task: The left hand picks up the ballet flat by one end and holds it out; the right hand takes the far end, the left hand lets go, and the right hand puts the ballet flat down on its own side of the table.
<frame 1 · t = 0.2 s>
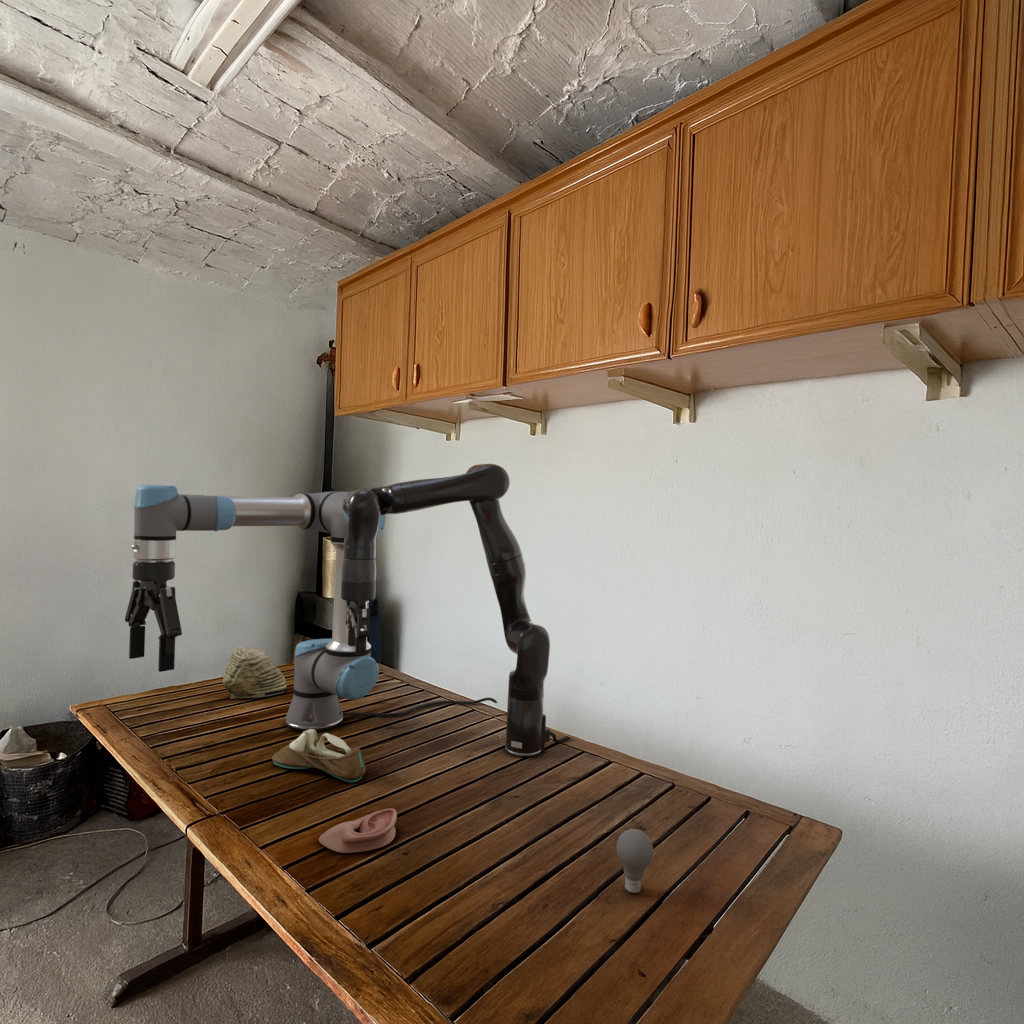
left hand: (151, 663, 130), 28 cm above the table, tool pointing down, fingers open, 13 cm apart
right hand: (356, 650, 142), 29 cm above the table, tool pointing down, fingers open, 8 cm apart
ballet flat: (318, 770, 146), on the table
fossil: (254, 694, 198), on the table
anatomical model: (358, 838, 118), on the table
light bulb: (632, 891, 106), on the table
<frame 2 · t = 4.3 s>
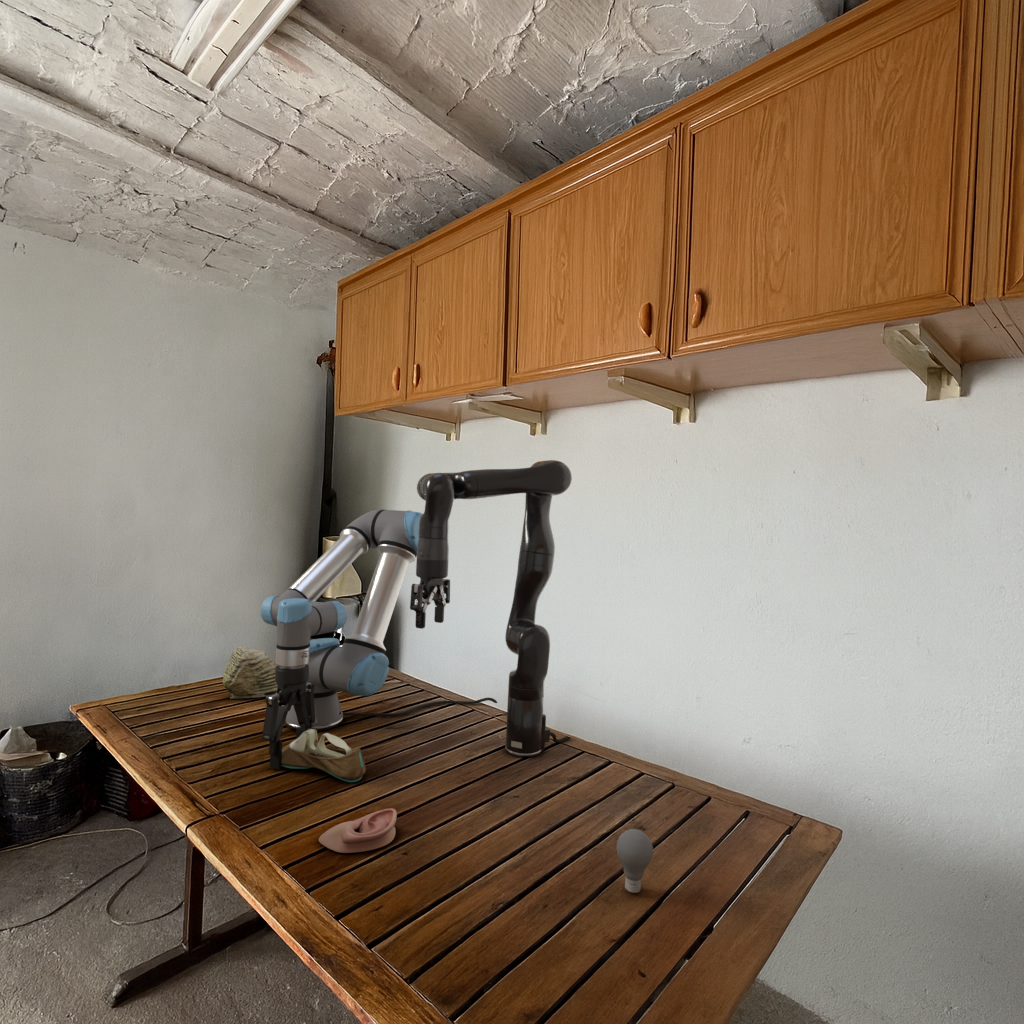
left hand: (288, 761, 150), 0 cm above the table, tool pointing down, fingers closed on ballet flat, 7 cm apart
right hand: (429, 625, 150), 34 cm above the table, tool pointing down, fingers open, 8 cm apart
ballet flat: (318, 770, 146), on the table, touching left hand
everything else where it was.
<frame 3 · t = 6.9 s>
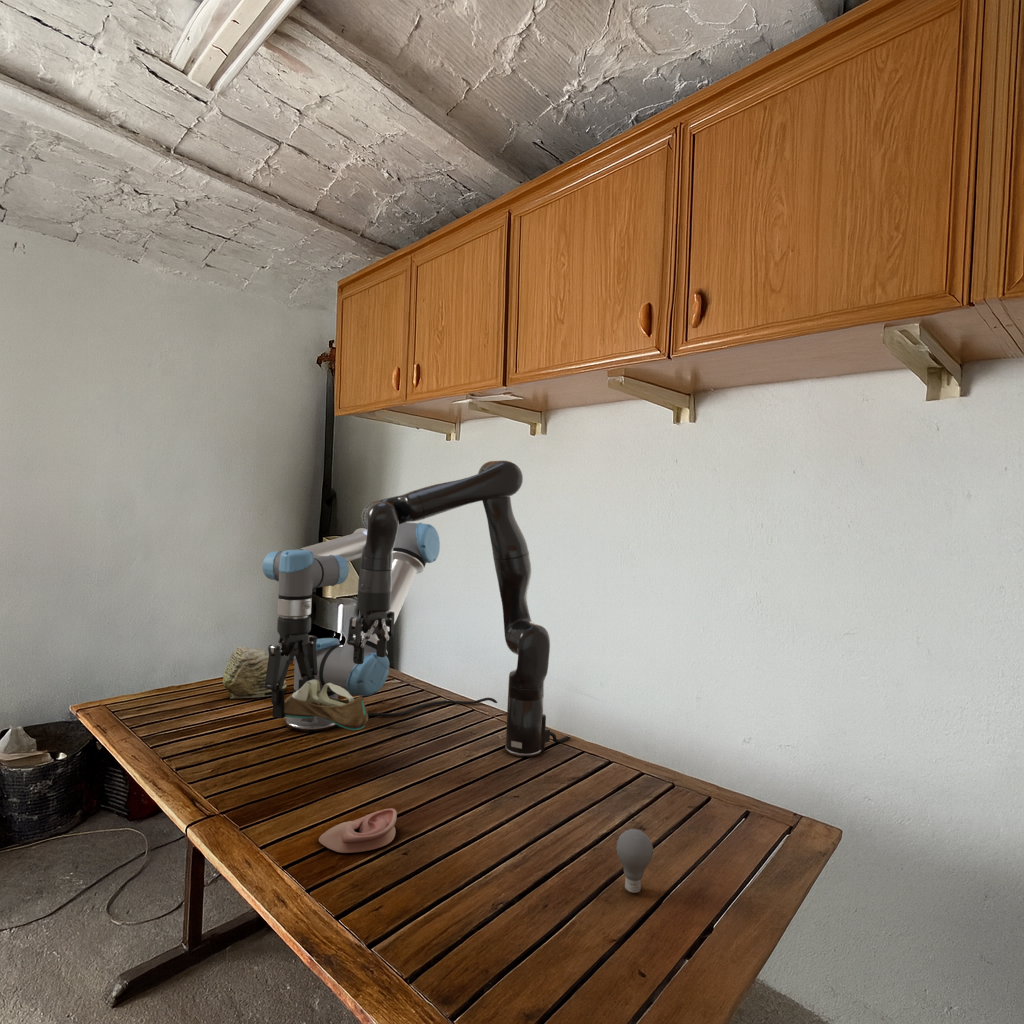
left hand: (291, 711, 150), 12 cm above the table, tool pointing down, fingers closed on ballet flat, 7 cm apart
right hand: (369, 660, 144), 27 cm above the table, tool pointing down, fingers open, 8 cm apart
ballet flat: (321, 720, 146), point 12 cm above the table, touching left hand
everything else where it was.
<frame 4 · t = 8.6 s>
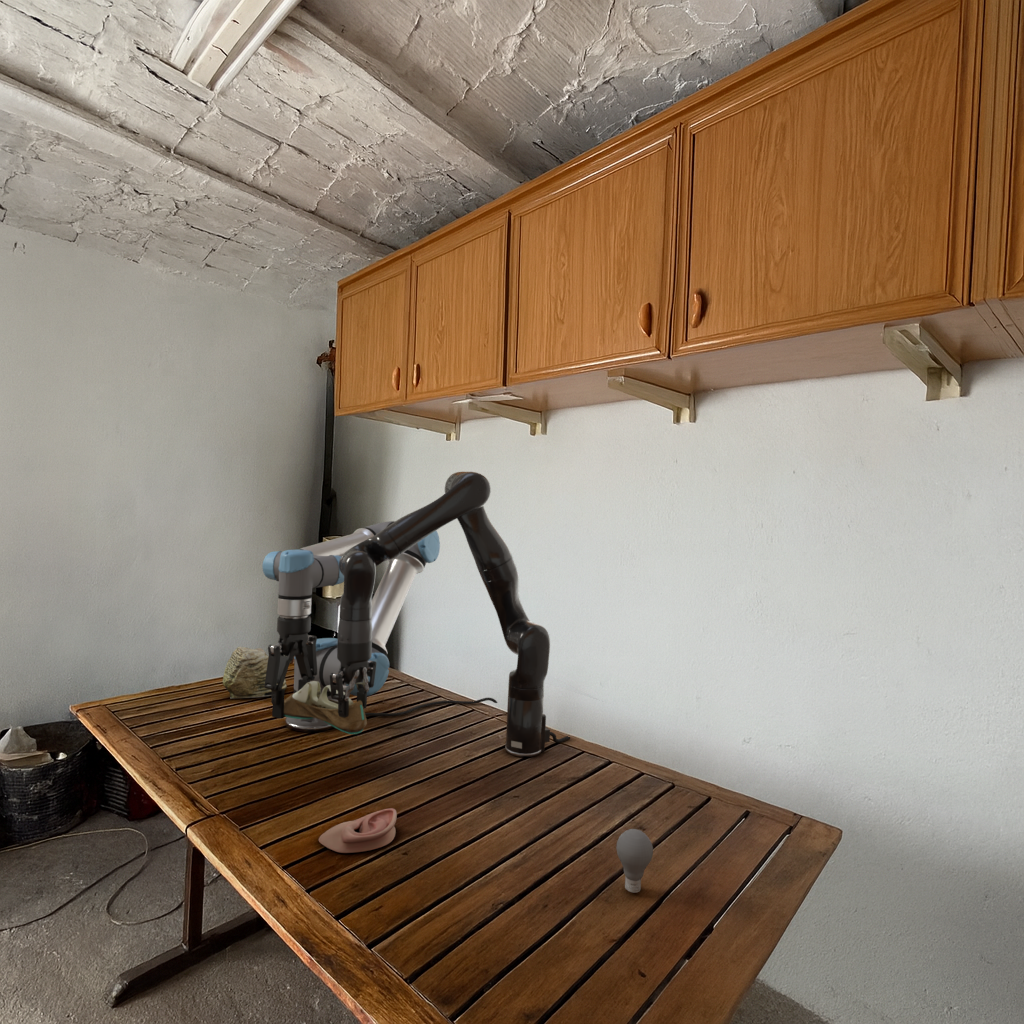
left hand: (290, 711, 150), 12 cm above the table, tool pointing down, fingers closed on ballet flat, 7 cm apart
right hand: (352, 712, 143), 15 cm above the table, tool pointing down, fingers closed on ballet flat, 5 cm apart
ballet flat: (320, 721, 146), point 11 cm above the table, touching left hand, right hand
everything else where it was.
when the left hand's fingers open (12 cm above the table, at t = 9.7 s): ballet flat stays where it is, held by the right hand.
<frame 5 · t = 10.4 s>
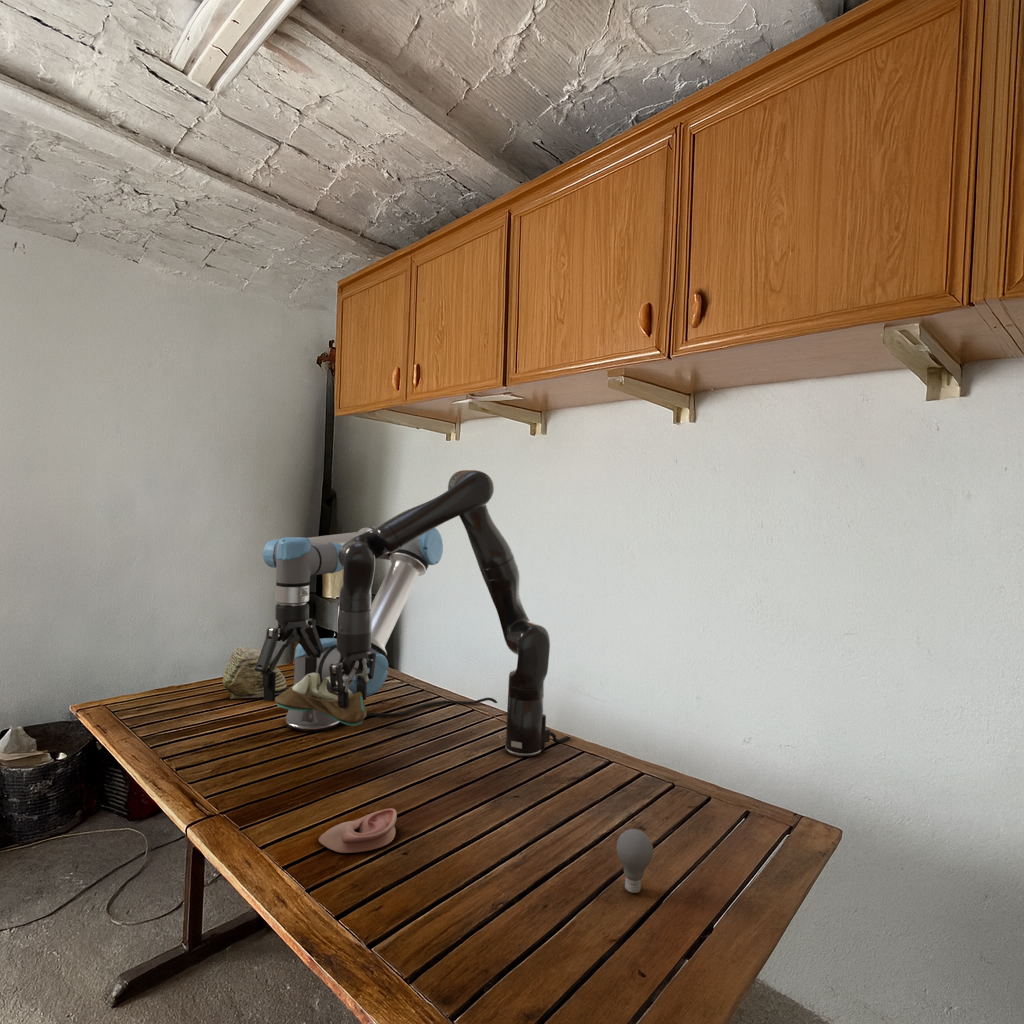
left hand: (290, 692, 150), 17 cm above the table, tool pointing down, fingers open, 13 cm apart
right hand: (352, 703, 143), 17 cm above the table, tool pointing down, fingers closed on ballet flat, 5 cm apart
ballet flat: (319, 713, 146), point 13 cm above the table, touching right hand
everything else where it was.
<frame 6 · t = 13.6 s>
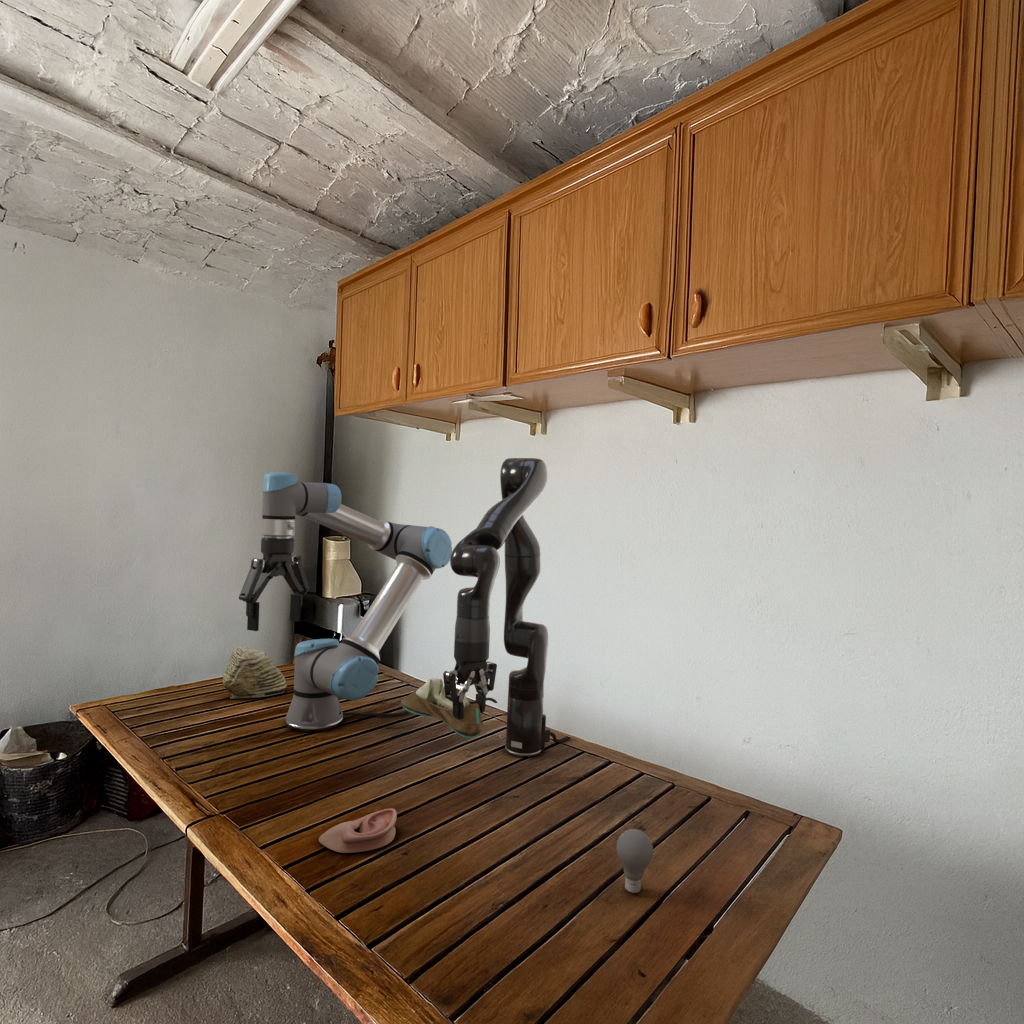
left hand: (274, 625, 152), 32 cm above the table, tool pointing down, fingers open, 13 cm apart
right hand: (469, 714, 136), 18 cm above the table, tool pointing down, fingers closed on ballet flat, 5 cm apart
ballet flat: (440, 720, 142), point 14 cm above the table, touching right hand
everything else where it was.
when the right hand's fingers open (5 cm above the table, at t = 18.8 s): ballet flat drops 1 cm, on the table.
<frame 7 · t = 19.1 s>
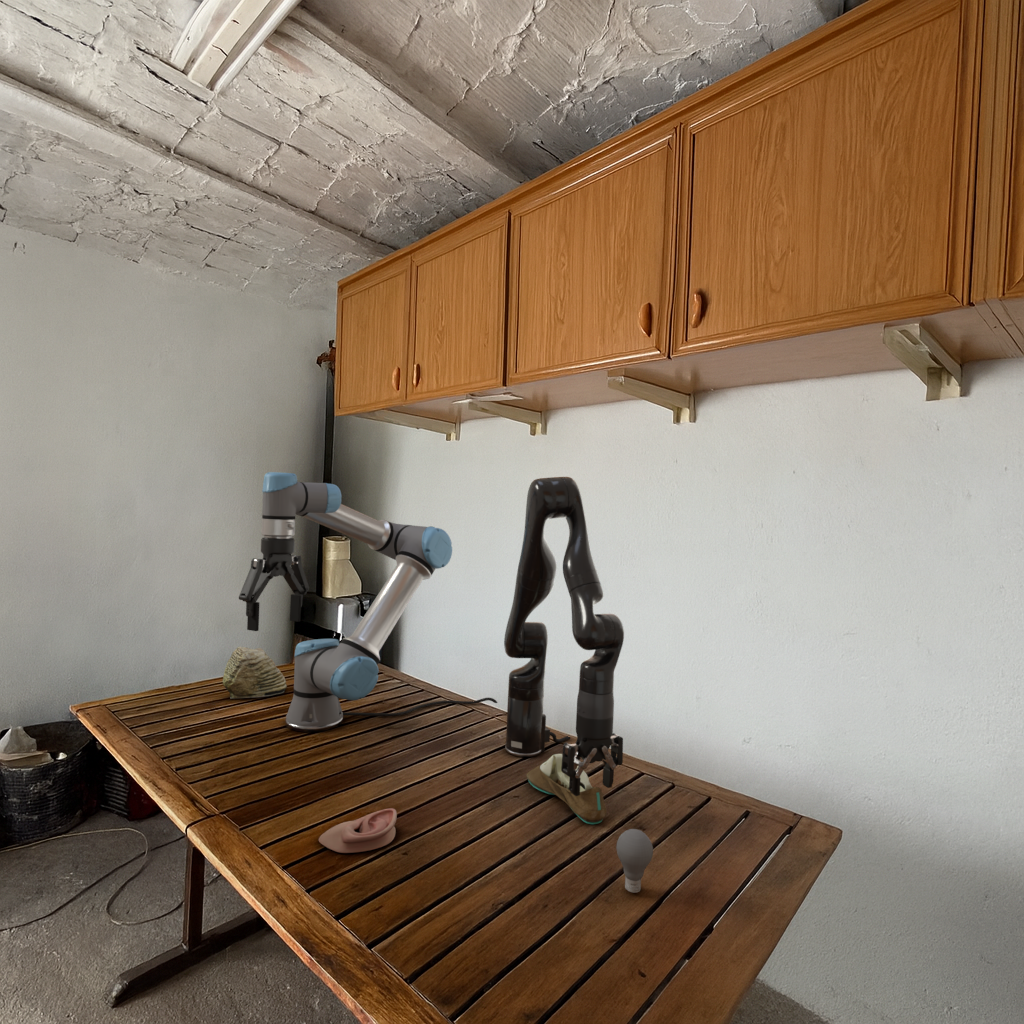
left hand: (274, 625, 152), 32 cm above the table, tool pointing down, fingers open, 13 cm apart
right hand: (591, 790, 130), 6 cm above the table, tool pointing down, fingers open, 8 cm apart
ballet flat: (564, 800, 137), on the table
everything else where it was.
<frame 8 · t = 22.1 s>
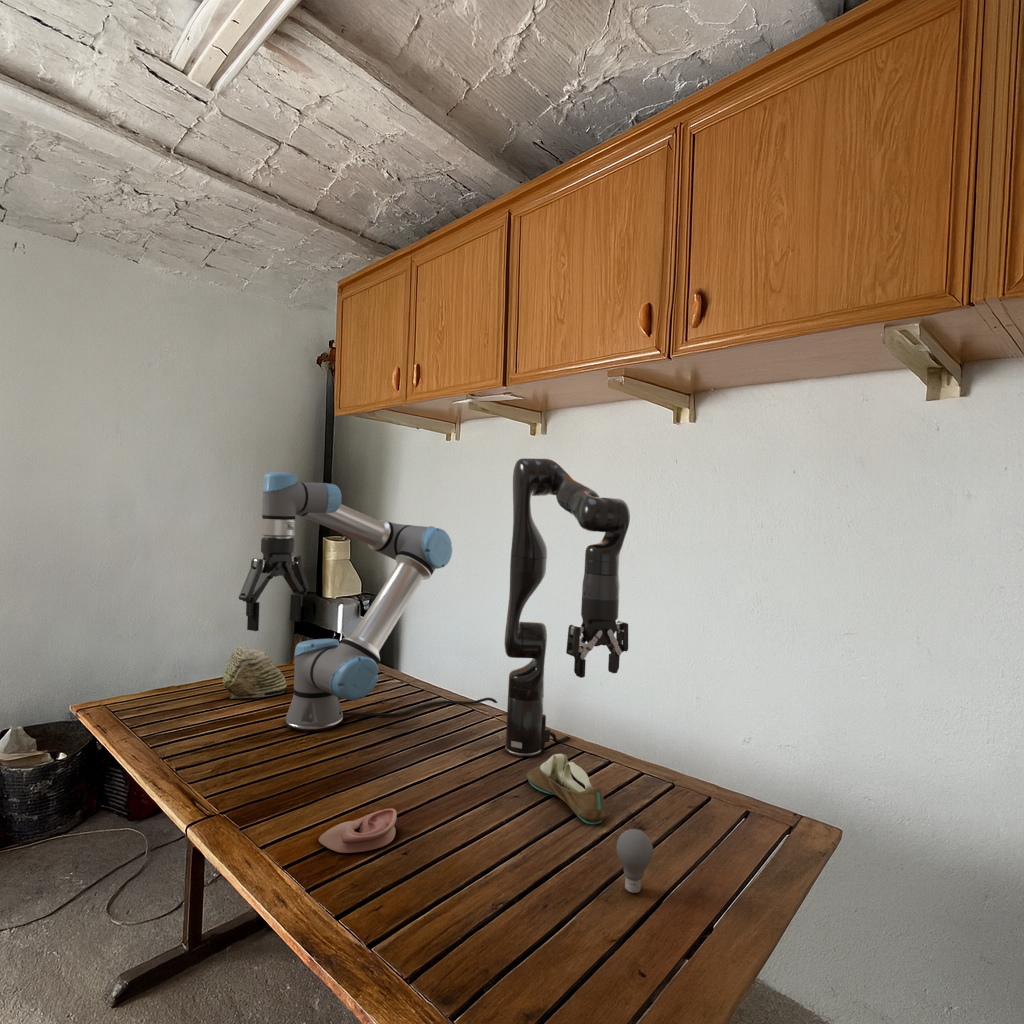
left hand: (274, 625, 152), 32 cm above the table, tool pointing down, fingers open, 13 cm apart
right hand: (596, 674, 129), 30 cm above the table, tool pointing down, fingers open, 8 cm apart
nothing on the table moved.
at the end: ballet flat inside the target area (8.7 cm from its centre), on the table; the left hand is holding nothing; the right hand is holding nothing; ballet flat at rest at the end (0.0 cm/s) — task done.
